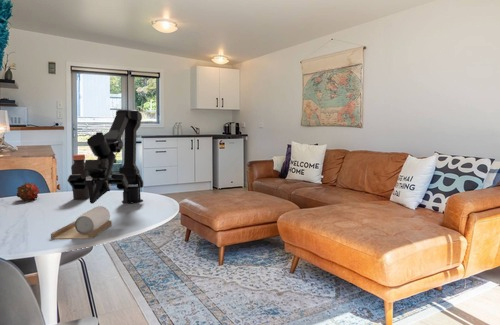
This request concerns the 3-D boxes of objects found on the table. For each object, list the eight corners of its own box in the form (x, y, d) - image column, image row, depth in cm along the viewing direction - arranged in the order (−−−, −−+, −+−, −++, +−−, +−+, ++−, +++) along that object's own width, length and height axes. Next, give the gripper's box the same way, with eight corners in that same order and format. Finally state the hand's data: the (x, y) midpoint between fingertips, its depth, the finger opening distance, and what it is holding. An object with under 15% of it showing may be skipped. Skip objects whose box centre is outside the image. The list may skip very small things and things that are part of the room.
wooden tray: (75, 225, 118) (75, 221, 118) (111, 225, 117) (111, 220, 117) (51, 238, 104) (50, 233, 104) (91, 238, 103) (91, 233, 103)
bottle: (80, 196, 168) (78, 154, 166) (93, 197, 166) (90, 154, 164) (69, 199, 161) (66, 155, 159) (82, 200, 159) (79, 155, 157)
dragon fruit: (25, 206, 156) (28, 205, 167) (43, 193, 160) (44, 192, 170) (11, 191, 154) (14, 191, 165) (28, 178, 158) (31, 179, 168)
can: (114, 218, 118) (99, 229, 106) (98, 228, 118) (81, 240, 106) (103, 202, 117) (86, 210, 105) (87, 212, 118) (68, 222, 106)
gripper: (68, 150, 120) (51, 189, 110) (123, 150, 120) (111, 188, 110) (81, 171, 129) (67, 208, 119) (132, 170, 128) (122, 207, 119)
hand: (91, 202), depth 116 cm, fingers closed
